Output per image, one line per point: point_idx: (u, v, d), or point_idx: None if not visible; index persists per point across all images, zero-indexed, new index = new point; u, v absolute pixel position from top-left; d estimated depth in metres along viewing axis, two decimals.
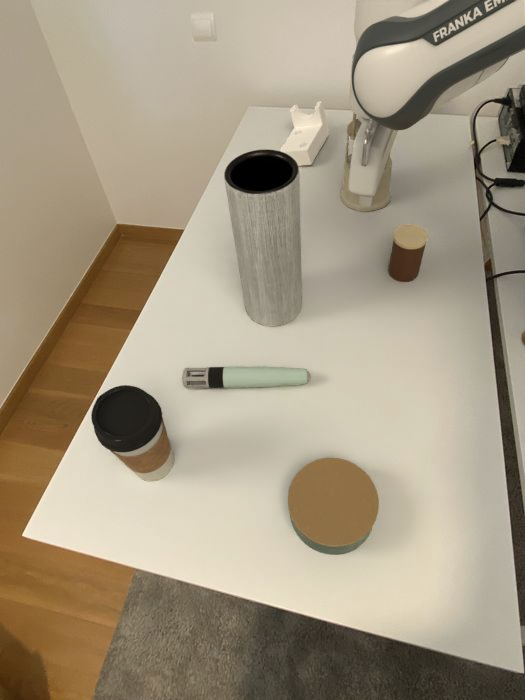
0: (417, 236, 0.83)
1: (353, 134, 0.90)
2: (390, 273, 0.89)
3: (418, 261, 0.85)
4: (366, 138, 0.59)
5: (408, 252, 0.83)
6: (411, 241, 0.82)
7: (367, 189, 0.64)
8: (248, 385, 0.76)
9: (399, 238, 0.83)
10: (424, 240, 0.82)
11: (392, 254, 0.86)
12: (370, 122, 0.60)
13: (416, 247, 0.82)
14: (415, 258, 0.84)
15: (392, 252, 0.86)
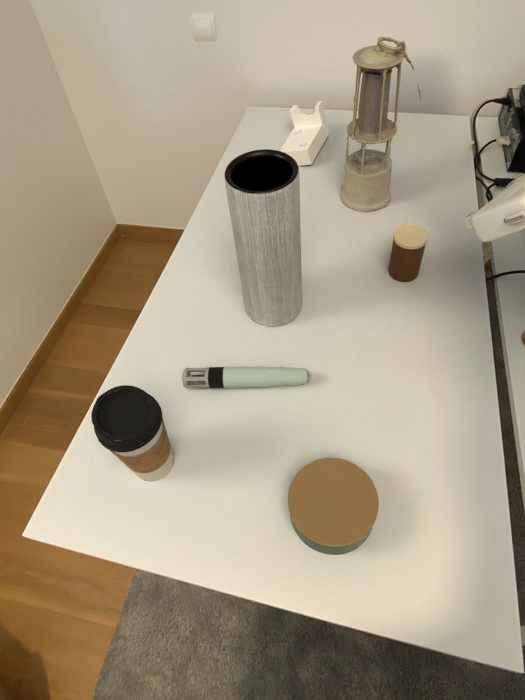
0: (417, 236, 0.83)
1: (353, 134, 0.90)
2: (390, 273, 0.89)
3: (418, 261, 0.85)
4: None
5: (408, 252, 0.83)
6: (411, 241, 0.82)
7: (484, 235, 0.59)
8: (248, 385, 0.76)
9: (399, 238, 0.83)
10: (424, 240, 0.82)
11: (392, 254, 0.86)
12: None
13: (416, 247, 0.82)
14: (415, 258, 0.84)
15: (392, 252, 0.86)
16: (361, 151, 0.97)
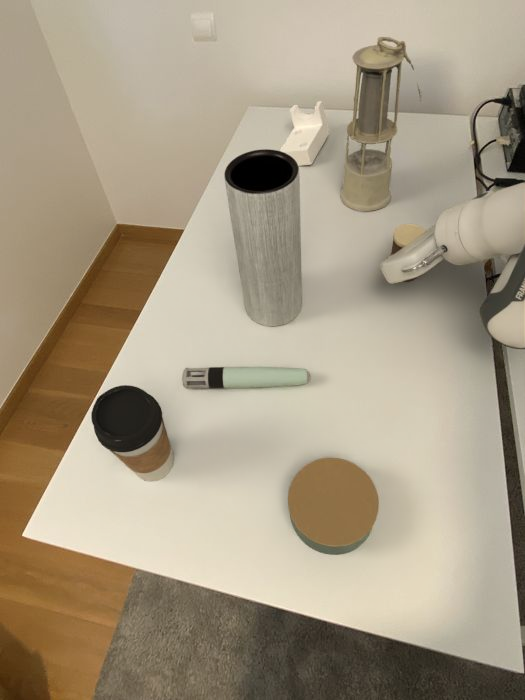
0: (417, 236, 0.83)
1: (353, 134, 0.90)
2: None
3: None
4: (418, 266, 0.72)
5: None
6: (410, 241, 0.82)
7: (390, 279, 0.78)
8: (248, 385, 0.76)
9: (399, 238, 0.83)
10: None
11: None
12: (432, 257, 0.72)
13: None
14: None
15: (392, 252, 0.86)
16: (361, 151, 0.97)
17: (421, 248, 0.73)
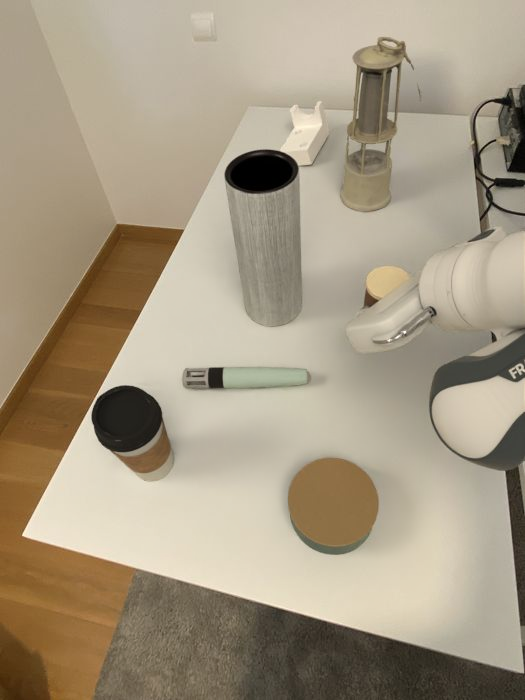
0: (397, 283, 0.61)
1: (353, 134, 0.90)
2: None
3: None
4: (394, 339, 0.50)
5: None
6: (388, 291, 0.61)
7: (357, 347, 0.56)
8: (248, 385, 0.76)
9: (373, 286, 0.61)
10: None
11: (365, 305, 0.64)
12: (413, 325, 0.50)
13: None
14: None
15: (365, 303, 0.64)
16: (361, 151, 0.97)
17: (399, 310, 0.52)
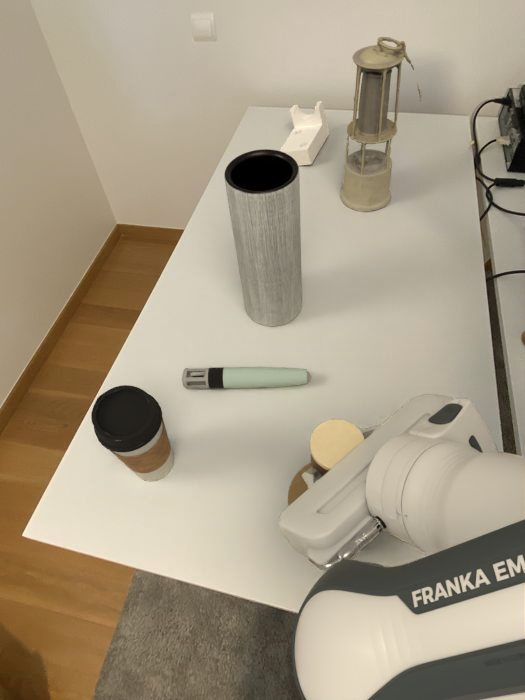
0: (347, 446, 0.50)
1: (353, 134, 0.90)
2: None
3: None
4: (330, 566, 0.39)
5: None
6: (336, 457, 0.49)
7: (293, 546, 0.45)
8: (248, 385, 0.76)
9: (318, 450, 0.50)
10: None
11: (311, 464, 0.53)
12: (356, 547, 0.39)
13: None
14: None
15: (311, 461, 0.53)
16: (361, 151, 0.97)
17: (340, 520, 0.40)
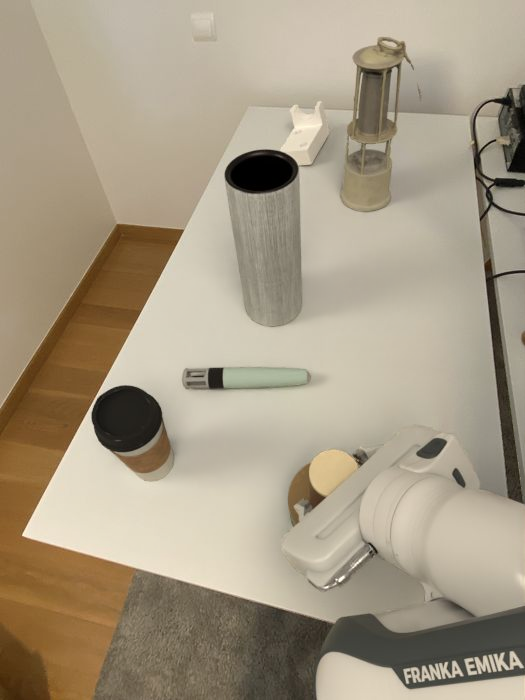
0: (343, 475, 0.55)
1: (353, 134, 0.90)
2: (312, 505, 0.61)
3: None
4: (328, 588, 0.43)
5: None
6: (333, 486, 0.54)
7: (294, 567, 0.49)
8: (248, 386, 0.76)
9: (316, 479, 0.55)
10: None
11: (310, 489, 0.58)
12: (350, 571, 0.43)
13: None
14: None
15: (310, 487, 0.58)
16: (361, 151, 0.97)
17: (336, 545, 0.45)
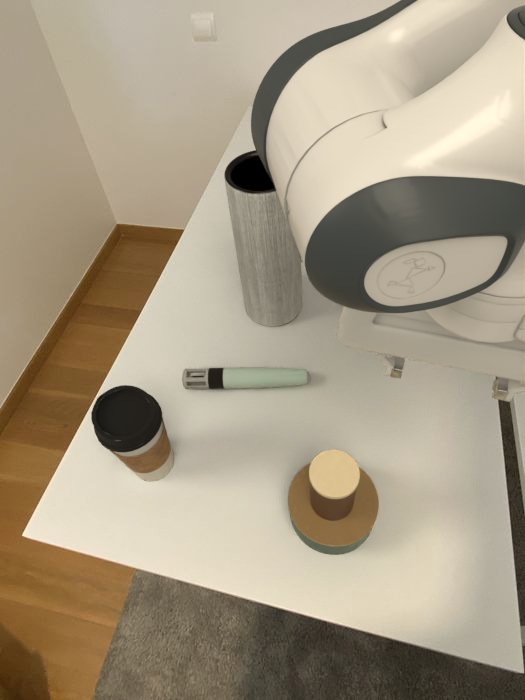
0: (343, 475, 0.55)
1: None
2: (312, 505, 0.61)
3: (348, 504, 0.57)
4: None
5: (330, 500, 0.55)
6: (333, 486, 0.54)
7: None
8: (248, 386, 0.76)
9: (316, 479, 0.55)
10: (353, 485, 0.54)
11: (310, 489, 0.58)
12: None
13: (340, 497, 0.54)
14: (341, 504, 0.56)
15: (310, 487, 0.58)
16: None
17: None
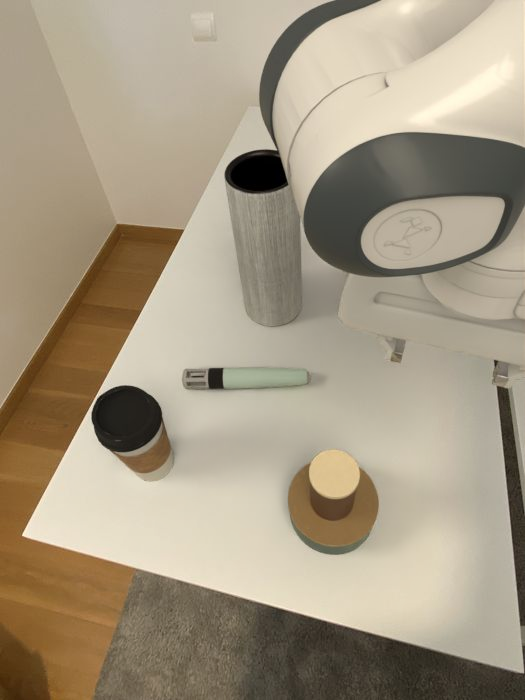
0: (343, 475, 0.55)
1: None
2: (312, 505, 0.61)
3: (348, 504, 0.57)
4: None
5: (330, 500, 0.55)
6: (333, 486, 0.54)
7: None
8: (248, 386, 0.76)
9: (316, 479, 0.55)
10: (353, 485, 0.54)
11: (310, 489, 0.58)
12: None
13: (340, 497, 0.54)
14: (341, 504, 0.56)
15: (310, 487, 0.58)
16: None
17: None
